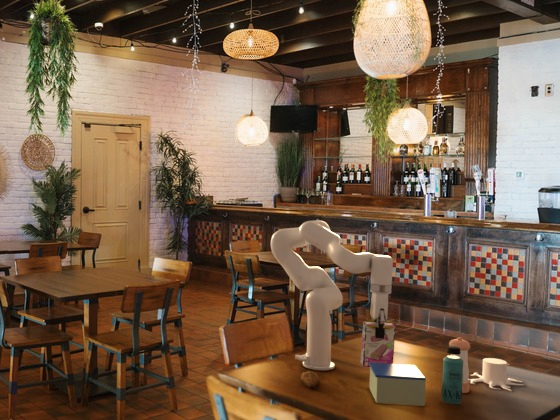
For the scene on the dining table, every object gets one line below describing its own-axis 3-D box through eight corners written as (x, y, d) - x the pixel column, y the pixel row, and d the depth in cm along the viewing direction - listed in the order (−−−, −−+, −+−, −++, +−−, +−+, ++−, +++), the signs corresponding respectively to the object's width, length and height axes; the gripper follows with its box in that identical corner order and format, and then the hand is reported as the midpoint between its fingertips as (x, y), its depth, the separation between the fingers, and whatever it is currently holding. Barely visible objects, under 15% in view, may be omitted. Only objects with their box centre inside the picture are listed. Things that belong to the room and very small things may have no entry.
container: (376, 403, 220) (377, 377, 219) (369, 388, 235) (370, 364, 235) (424, 406, 217) (425, 380, 217) (414, 391, 233) (415, 367, 232)
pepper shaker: (473, 392, 232) (475, 340, 231) (453, 393, 231) (455, 340, 230) (462, 386, 239) (464, 335, 238) (443, 386, 238) (445, 335, 237)
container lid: (375, 377, 219) (375, 375, 219) (368, 364, 235) (368, 362, 235) (425, 380, 217) (425, 377, 217) (415, 367, 232) (415, 364, 232)
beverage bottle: (437, 402, 221) (439, 344, 220) (455, 401, 222) (457, 344, 221) (447, 408, 215) (449, 349, 214) (466, 408, 215) (468, 349, 215)
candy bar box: (362, 367, 243) (365, 324, 242) (360, 363, 248) (362, 321, 247) (393, 369, 242) (395, 326, 241) (390, 365, 247) (392, 322, 246)
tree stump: (534, 385, 242) (535, 363, 241) (503, 393, 232) (504, 371, 231) (483, 371, 259) (484, 351, 258) (453, 378, 249) (454, 357, 248)
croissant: (298, 377, 247) (298, 364, 247) (316, 378, 246) (316, 365, 246) (302, 389, 233) (302, 375, 233) (321, 390, 233) (321, 376, 233)
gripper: (367, 283, 252) (364, 329, 253) (374, 291, 235) (371, 341, 236) (387, 285, 251) (384, 331, 252) (395, 293, 234) (392, 342, 235)
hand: (378, 335), depth 244 cm, fingers closed on candy bar box, 5 cm apart
